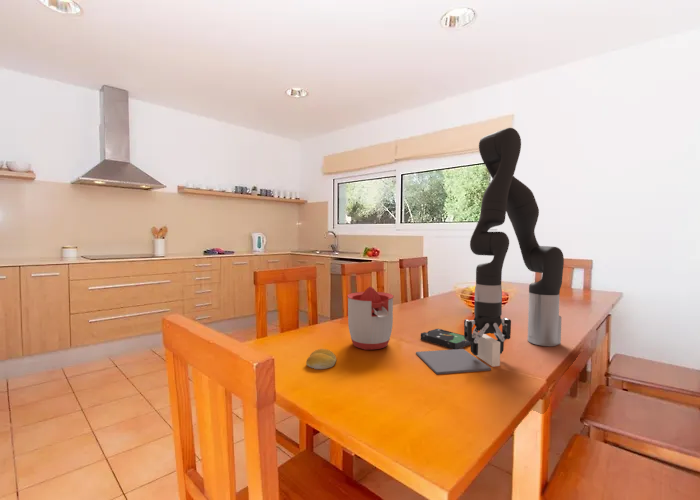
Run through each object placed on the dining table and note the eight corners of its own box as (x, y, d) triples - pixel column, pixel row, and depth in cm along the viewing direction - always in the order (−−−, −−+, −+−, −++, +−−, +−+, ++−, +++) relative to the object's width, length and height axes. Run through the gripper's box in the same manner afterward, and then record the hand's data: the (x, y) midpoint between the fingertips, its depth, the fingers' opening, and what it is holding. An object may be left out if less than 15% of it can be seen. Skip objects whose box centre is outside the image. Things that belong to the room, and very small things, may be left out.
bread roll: (303, 369, 98) (303, 355, 98) (312, 358, 107) (312, 345, 107) (332, 371, 97) (331, 357, 96) (338, 359, 106) (338, 346, 105)
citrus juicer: (360, 357, 107) (360, 292, 106) (340, 340, 123) (340, 284, 122) (404, 350, 113) (405, 289, 112) (380, 335, 129) (380, 282, 128)
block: (483, 355, 109) (483, 332, 108) (500, 366, 100) (500, 342, 100) (475, 355, 108) (476, 333, 108) (492, 366, 100) (492, 342, 99)
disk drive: (419, 341, 125) (456, 351, 113) (419, 333, 124) (456, 343, 113) (437, 335, 131) (473, 344, 120) (437, 328, 131) (473, 336, 120)
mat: (463, 350, 113) (463, 348, 113) (491, 370, 97) (491, 368, 97) (415, 353, 110) (415, 351, 110) (436, 374, 94) (436, 372, 94)
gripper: (502, 296, 108) (501, 348, 109) (459, 297, 106) (458, 350, 107) (518, 300, 101) (516, 356, 102) (472, 302, 98) (470, 359, 99)
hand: (486, 353), depth 104 cm, fingers open, 7 cm apart
